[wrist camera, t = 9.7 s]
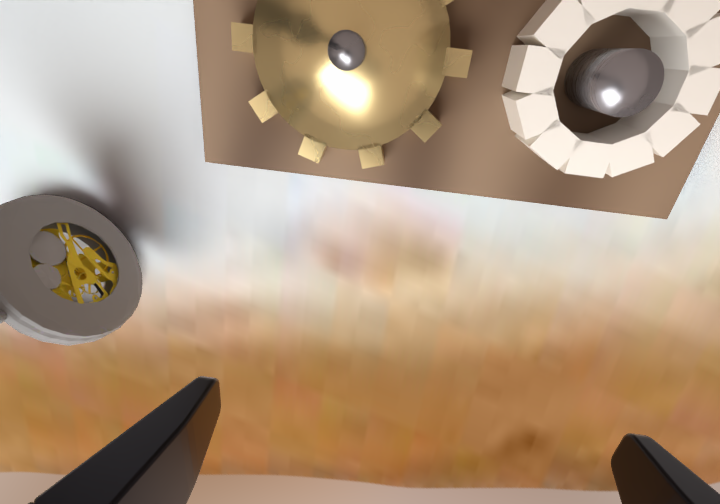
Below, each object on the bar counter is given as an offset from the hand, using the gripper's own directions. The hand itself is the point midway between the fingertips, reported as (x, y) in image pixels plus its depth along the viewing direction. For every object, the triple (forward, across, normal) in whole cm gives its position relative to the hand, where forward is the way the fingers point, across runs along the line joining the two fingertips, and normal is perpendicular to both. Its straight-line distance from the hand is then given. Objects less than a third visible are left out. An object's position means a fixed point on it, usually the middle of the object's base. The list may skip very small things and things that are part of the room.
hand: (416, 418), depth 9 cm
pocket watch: (+12, +16, +4) cm, 21 cm away
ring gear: (+10, -6, -7) cm, 14 cm away
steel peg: (+10, -6, -7) cm, 14 cm away
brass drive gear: (+11, +3, -7) cm, 13 cm away
